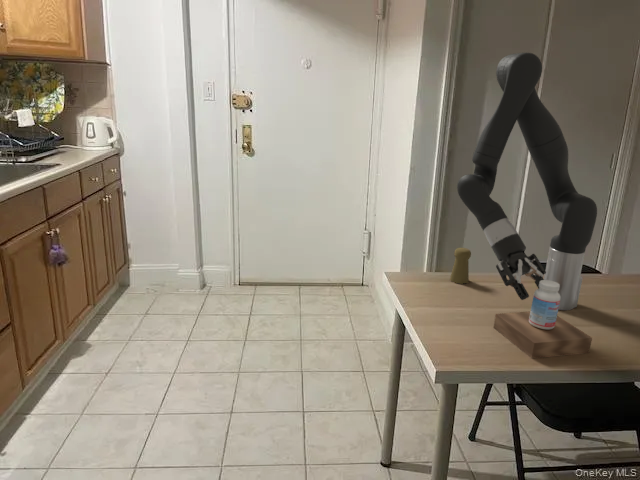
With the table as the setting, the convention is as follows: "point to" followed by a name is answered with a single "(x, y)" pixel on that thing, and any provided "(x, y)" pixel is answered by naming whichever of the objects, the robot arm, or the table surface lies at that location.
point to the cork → (461, 266)
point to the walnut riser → (542, 336)
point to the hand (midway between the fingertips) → (535, 295)
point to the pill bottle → (545, 305)
